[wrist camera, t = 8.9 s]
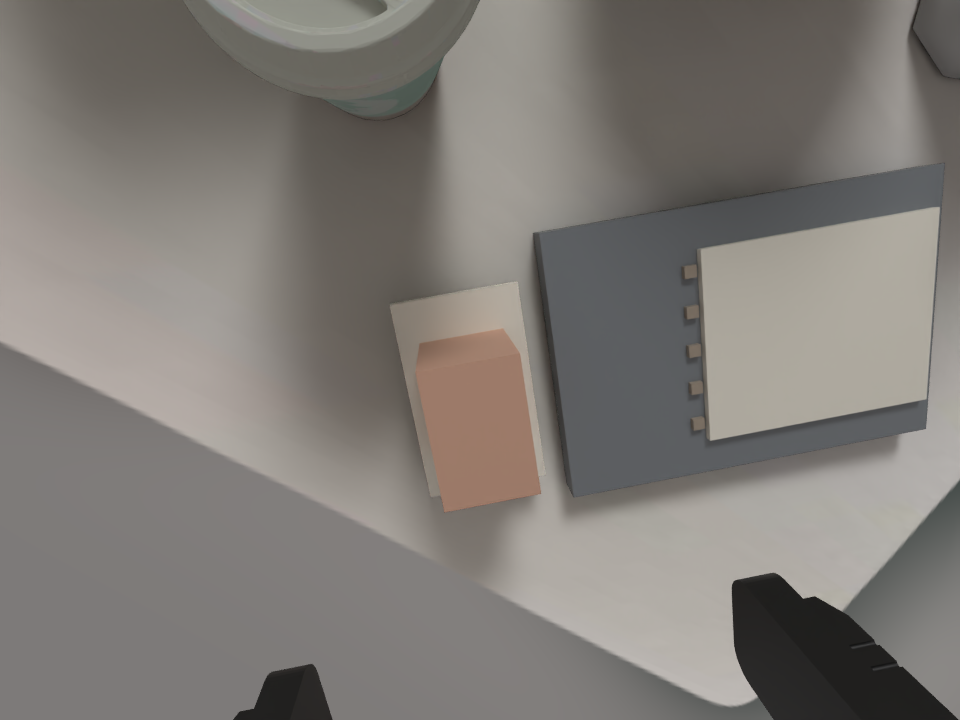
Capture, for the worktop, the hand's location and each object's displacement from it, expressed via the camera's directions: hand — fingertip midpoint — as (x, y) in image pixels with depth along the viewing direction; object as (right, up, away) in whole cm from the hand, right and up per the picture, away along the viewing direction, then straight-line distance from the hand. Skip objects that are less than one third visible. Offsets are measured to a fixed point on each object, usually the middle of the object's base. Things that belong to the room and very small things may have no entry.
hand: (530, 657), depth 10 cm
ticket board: (+13, +7, +18) cm, 23 cm away
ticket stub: (-1, +4, +16) cm, 16 cm away
